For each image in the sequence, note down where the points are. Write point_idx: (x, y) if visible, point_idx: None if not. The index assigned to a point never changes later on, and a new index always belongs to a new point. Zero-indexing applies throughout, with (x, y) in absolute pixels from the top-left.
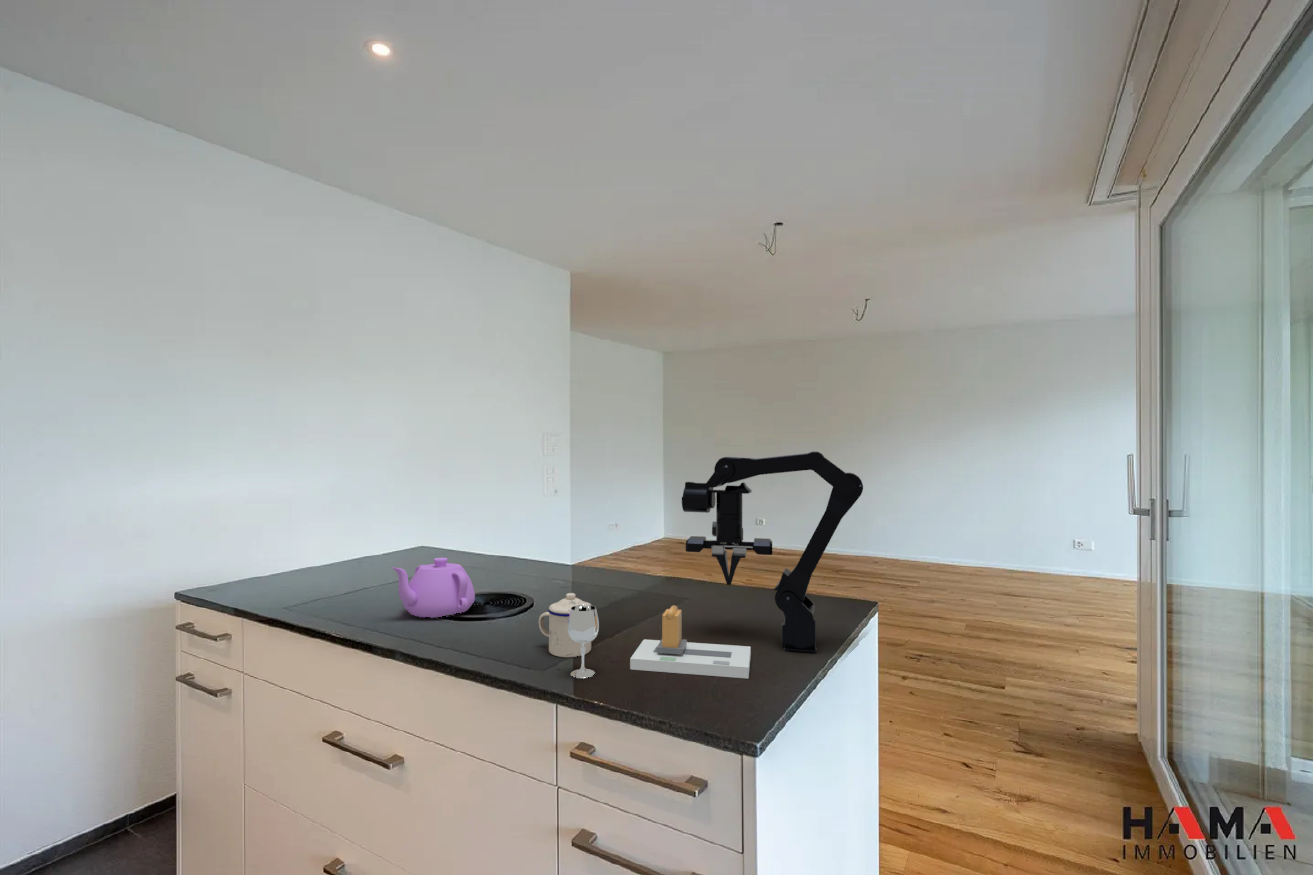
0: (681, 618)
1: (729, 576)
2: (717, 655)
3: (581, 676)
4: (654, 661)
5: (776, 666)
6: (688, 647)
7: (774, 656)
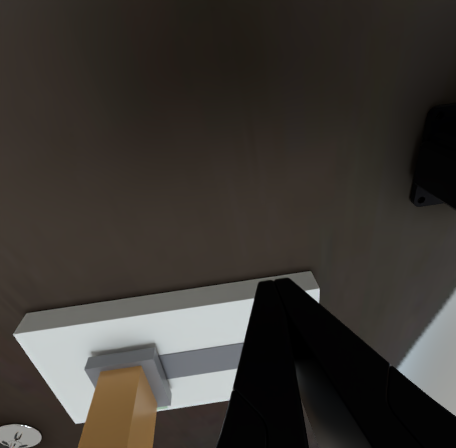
0: (130, 428)
1: (300, 389)
2: None
3: (29, 446)
4: None
5: (368, 303)
6: (161, 342)
7: (372, 249)
